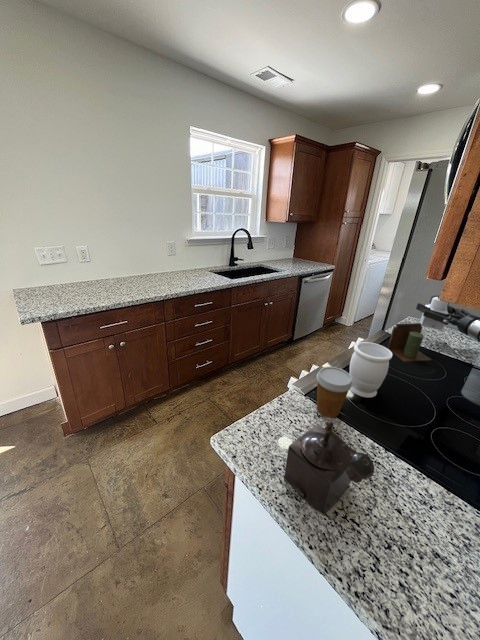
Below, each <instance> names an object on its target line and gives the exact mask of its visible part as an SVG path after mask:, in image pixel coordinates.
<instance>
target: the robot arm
mask: <svg viewBox="0 0 480 640" xmlns="http://www.w3.org/2000/svg"><path fill="white" fill-rule="evenodd" d="M415 310H417V311H419V312H421V313H422V314H423V313H424V314H423V316H425V317H428V318H430V319H433V320H436V321H439V322H441V323H443V324H445V325H444V326H448V325H449V324H450V325H452V326H455V327H456V328H457V330H458V332H459V333H461V334H463V335H465V336H467V337H469V338H471V339H473V340H475V341H476V342H477V343H480V316H478V315H475V314H473V313H470V312H469V311H467V310H465V309H463V308H461V309H460V308H455V307H453V306H451V305H448V307H447V311H448V314H445V313H441V312H438V311H434V310H431V308H429V307H426V306H425V304H422V303H420V302H417V305H416V307H415Z"/></svg>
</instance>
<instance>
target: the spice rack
mask: <svg viewBox="0 0 480 640" xmlns="http://www.w3.org/2000/svg"><path fill="white" fill-rule="evenodd" d="M422 330H423V326H421V322H413V323H410V322H409V323H396V324H395V326H393V327H392V331H391V334H390V338H389V341H388V344H387V347H386V348H387V349H389V350H390V351H391V352H392V354H394V355H395V356H396V357H398V358H399V359H400V360H401V361H402V362H420V361H421V362H422V361H432V358H430V357H429V356H427V355H426V354H425V353H423V352H422V351H421V350H419V352H418V354H417V357H415V358H412V357H408V356H406V355H404V354H403V351H404V348H405V345H406V342H407V339H408V336H409V333H410V332H418V333H421V334H422Z"/></svg>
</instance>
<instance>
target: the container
mask: <svg viewBox="0 0 480 640" xmlns="http://www.w3.org/2000/svg"><path fill="white" fill-rule="evenodd" d="M439 296H440V295H432V296H430V298H429V299H430V300H429V301H428V304H424V306H426V307H429V308H431V310H434V311H438V312H441V313H445V314H449V313H448V311H447V307H448V306H450V302H449V303H445V302H442V301H440V300H439V299H438V297H439ZM423 314H424V313H423V312H422V314H421V317H420V323H421V326H422V327H424V328H429V329H434V330H438V331H443V329H444V327H445V326H446V325H445V324H443V323H441V322H439V321H436V320H433V319H430V318H428V317H425V316H423Z"/></svg>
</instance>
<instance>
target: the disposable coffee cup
mask: <svg viewBox="0 0 480 640" xmlns="http://www.w3.org/2000/svg"><path fill="white" fill-rule="evenodd" d="M316 380H317V388H316V393H317V394H316V395H317V396H316V410H317V412H318V413H319V414H320V415H322V416H324V417H326V418H336V417H338V416H339V414H340V412H341V411H342V408H343V405H344V403H345V400H346V398H347V396H348V393H349V391H350V388H351V387H352V385H353V382H352V378H351V376H350V374H349V373H348V371H346V370H344V369H343V368H340V367H336V366H324V367H322V368H320V369H319V371H318V372H317V373H316Z"/></svg>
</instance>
